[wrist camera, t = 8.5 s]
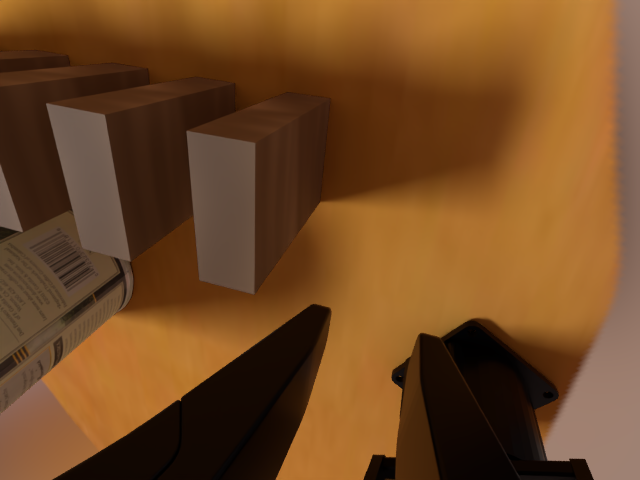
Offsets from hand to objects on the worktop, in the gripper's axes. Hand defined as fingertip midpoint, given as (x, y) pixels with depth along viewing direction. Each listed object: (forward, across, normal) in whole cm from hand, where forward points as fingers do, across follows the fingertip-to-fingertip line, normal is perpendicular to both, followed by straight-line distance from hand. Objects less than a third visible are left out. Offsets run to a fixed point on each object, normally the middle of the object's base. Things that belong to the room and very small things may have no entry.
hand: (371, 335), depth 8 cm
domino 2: (+11, +10, 0) cm, 15 cm away
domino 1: (+11, +14, 0) cm, 18 cm away
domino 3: (+11, +5, 0) cm, 12 cm away
